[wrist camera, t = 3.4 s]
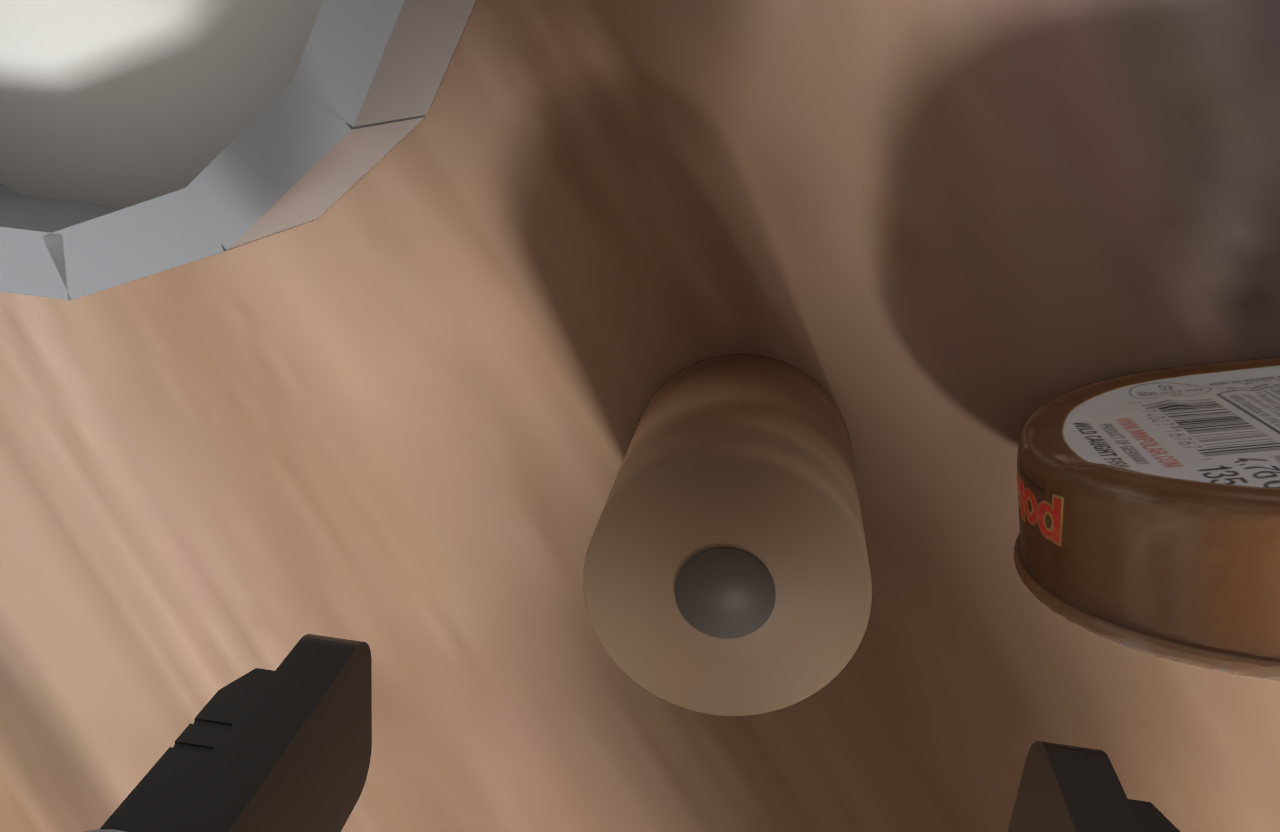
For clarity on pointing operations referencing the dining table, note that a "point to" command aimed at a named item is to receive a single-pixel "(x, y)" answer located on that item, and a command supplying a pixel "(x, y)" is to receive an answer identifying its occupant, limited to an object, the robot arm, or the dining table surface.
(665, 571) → the walnut bead
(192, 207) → the round tray
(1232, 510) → the tin
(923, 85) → the dining table surface
